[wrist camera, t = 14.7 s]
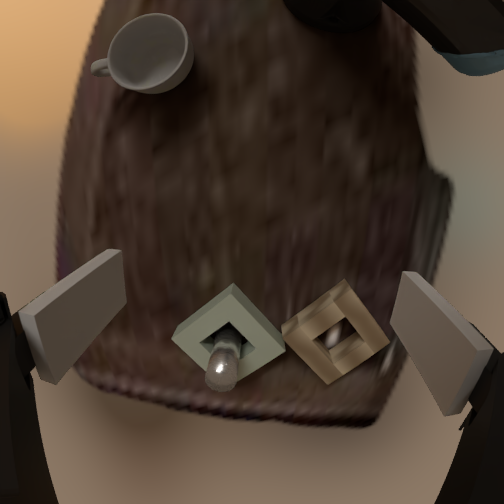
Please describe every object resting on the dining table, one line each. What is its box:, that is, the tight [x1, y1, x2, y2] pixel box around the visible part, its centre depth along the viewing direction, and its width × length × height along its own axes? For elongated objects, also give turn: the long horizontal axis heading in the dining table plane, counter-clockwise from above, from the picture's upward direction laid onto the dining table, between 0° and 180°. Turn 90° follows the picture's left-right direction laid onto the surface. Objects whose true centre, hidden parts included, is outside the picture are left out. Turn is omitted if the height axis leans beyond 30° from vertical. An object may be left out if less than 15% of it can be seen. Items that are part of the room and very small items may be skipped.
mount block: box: [281, 279, 390, 385], centre depth 45 cm, size 12×12×4 cm
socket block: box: [172, 283, 285, 381], centre depth 46 cm, size 12×12×4 cm
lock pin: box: [205, 322, 242, 392], centre depth 42 cm, size 4×4×12 cm
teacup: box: [91, 13, 194, 94], centre depth 33 cm, size 14×11×8 cm
